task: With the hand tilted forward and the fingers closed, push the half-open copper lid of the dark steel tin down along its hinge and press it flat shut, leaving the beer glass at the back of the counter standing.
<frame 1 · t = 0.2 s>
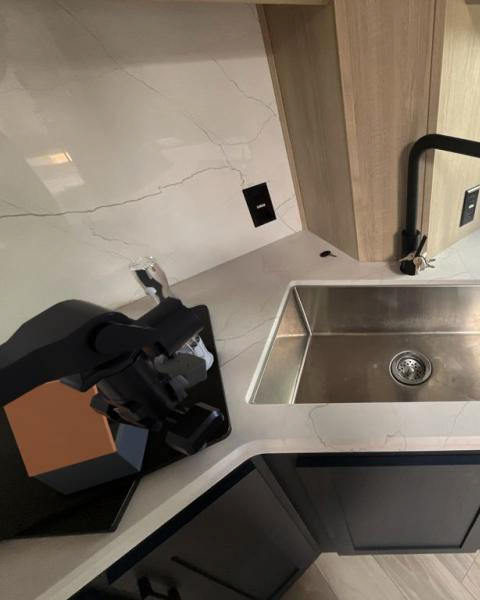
hand: (180, 438, 52), 15 cm above the worktop, tool pointing down, fingers open, 9 cm apart
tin: (114, 449, 65), on the worktop
beer glass: (166, 304, 98), on the worktop
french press: (197, 367, 81), on the worktop
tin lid: (61, 423, 53), point 15 cm above the worktop, hinge at 55.0°
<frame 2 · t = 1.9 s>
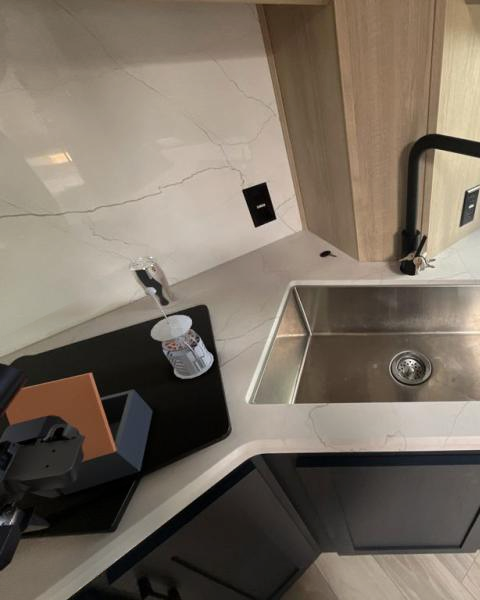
hand: (51, 510, 46), 13 cm above the worktop, tool pointing down, fingers open, 4 cm apart
nothing on the worktop moved.
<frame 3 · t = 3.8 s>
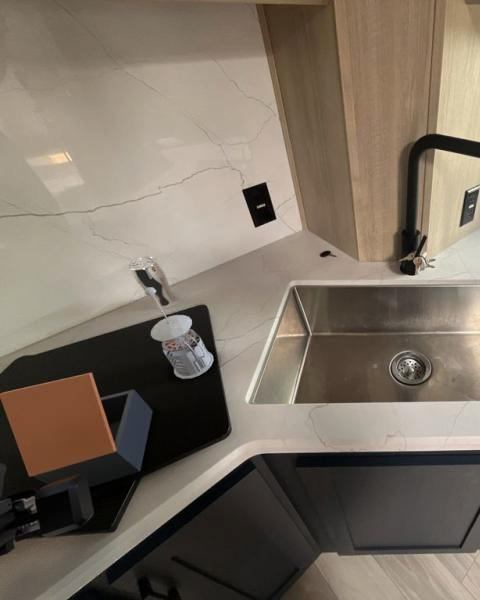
hand: (45, 495, 48), 13 cm above the worktop, tool tilted 45°, fingers closed
nothing on the worktop moved.
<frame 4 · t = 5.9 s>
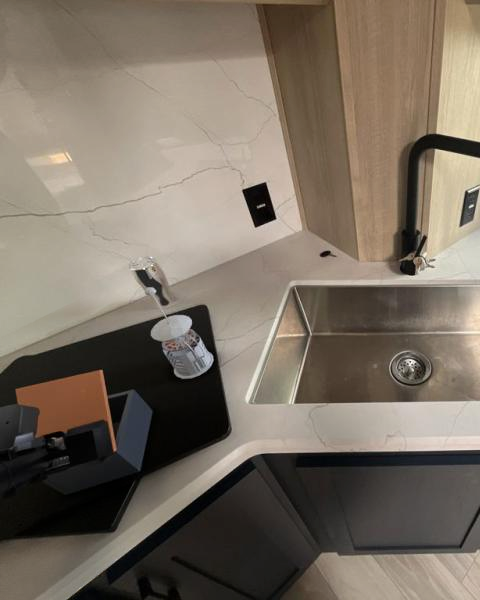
hand: (69, 442, 54), 12 cm above the worktop, tool tilted 45°, fingers closed
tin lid: (67, 420, 55), point 14 cm above the worktop, hinge at 42.7°
everything else where it was.
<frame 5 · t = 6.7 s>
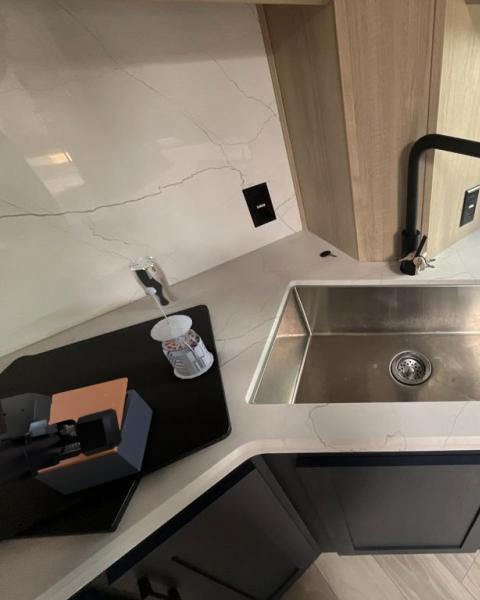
hand: (79, 431, 57), 11 cm above the worktop, tool tilted 45°, fingers closed, pressing on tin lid
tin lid: (83, 422, 58), point 11 cm above the worktop, hinge at 10.2°, touching gripper
everything else where it was.
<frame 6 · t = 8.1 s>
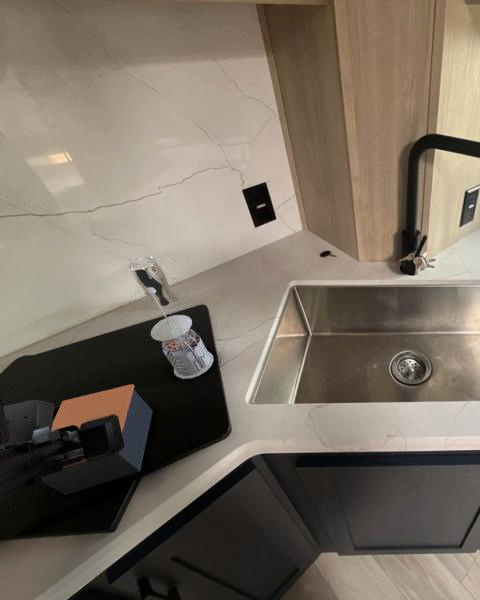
hand: (81, 435, 57), 10 cm above the worktop, tool tilted 45°, fingers closed
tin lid: (88, 425, 59), point 9 cm above the worktop, hinge at -0.2°, touching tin
everything else where it was.
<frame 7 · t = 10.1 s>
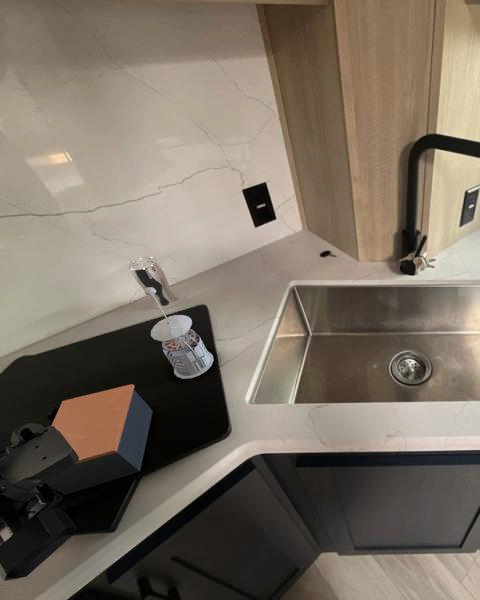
hand: (58, 499, 47), 12 cm above the worktop, tool tilted 20°, fingers closed
nothing on the worktop moved.
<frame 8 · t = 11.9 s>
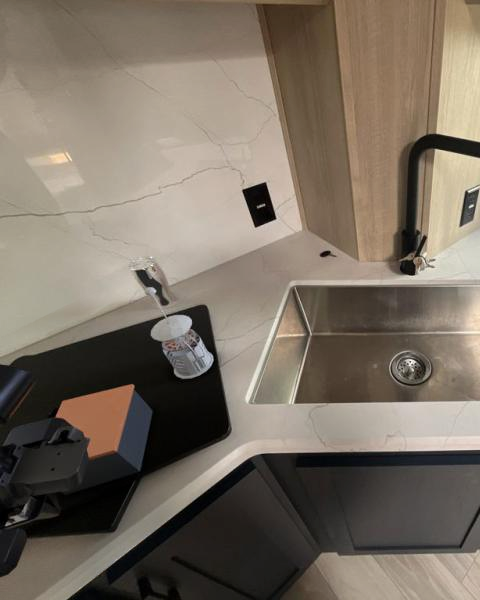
hand: (56, 513, 46), 13 cm above the worktop, tool pointing down, fingers closed
nothing on the worktop moved.
at the end: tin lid at +0° (first picture: +55°); beer glass tilted 0° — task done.
